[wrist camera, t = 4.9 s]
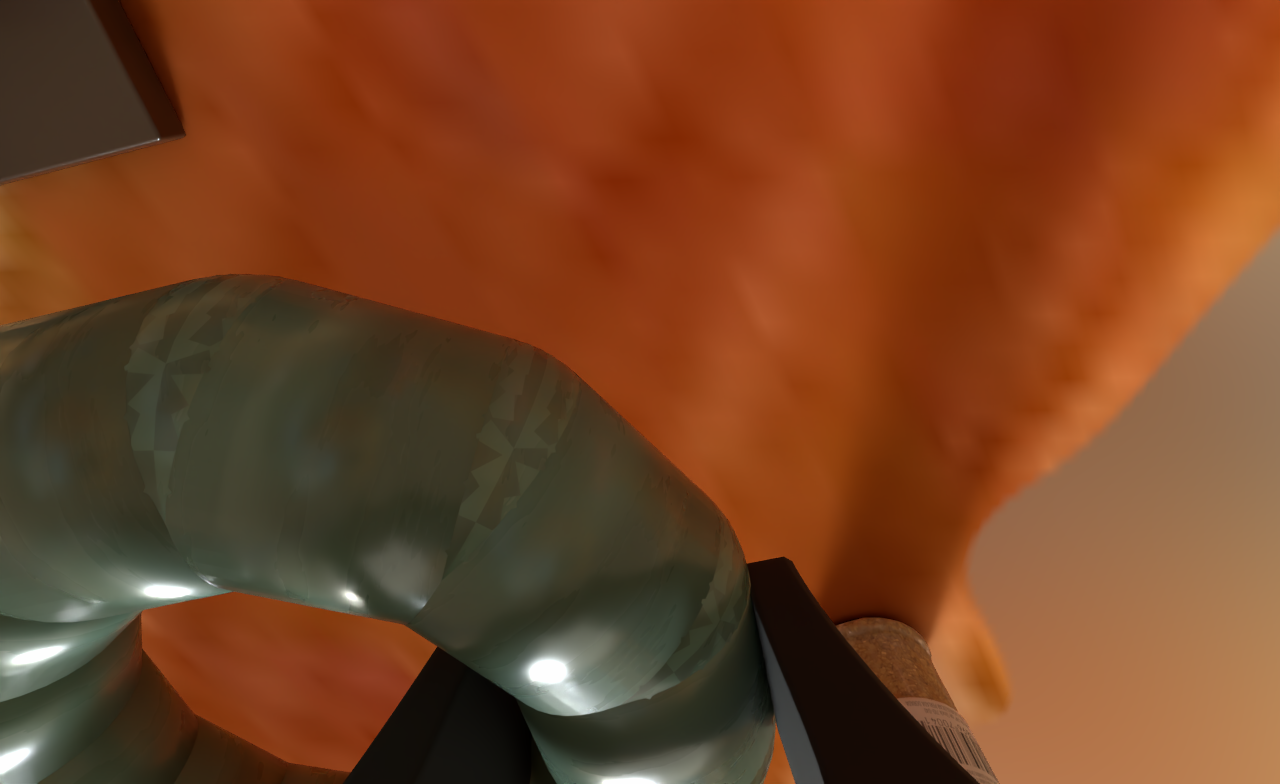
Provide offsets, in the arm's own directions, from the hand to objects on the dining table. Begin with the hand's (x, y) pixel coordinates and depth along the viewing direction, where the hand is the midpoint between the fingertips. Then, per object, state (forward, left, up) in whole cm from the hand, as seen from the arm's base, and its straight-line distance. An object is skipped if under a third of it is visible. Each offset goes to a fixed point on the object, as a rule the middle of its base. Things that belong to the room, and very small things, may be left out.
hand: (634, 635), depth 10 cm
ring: (-5, 0, 0) cm, 5 cm away
